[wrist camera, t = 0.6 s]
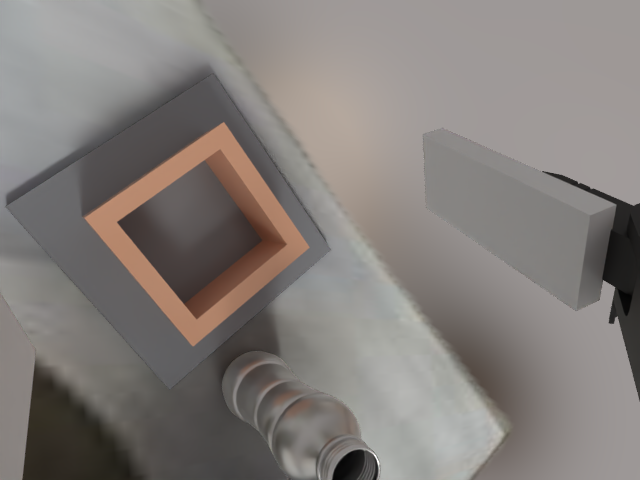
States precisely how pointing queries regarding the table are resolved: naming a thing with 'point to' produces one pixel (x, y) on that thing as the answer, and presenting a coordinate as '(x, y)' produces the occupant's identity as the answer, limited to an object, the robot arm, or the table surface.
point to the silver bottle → (298, 421)
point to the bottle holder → (175, 229)
